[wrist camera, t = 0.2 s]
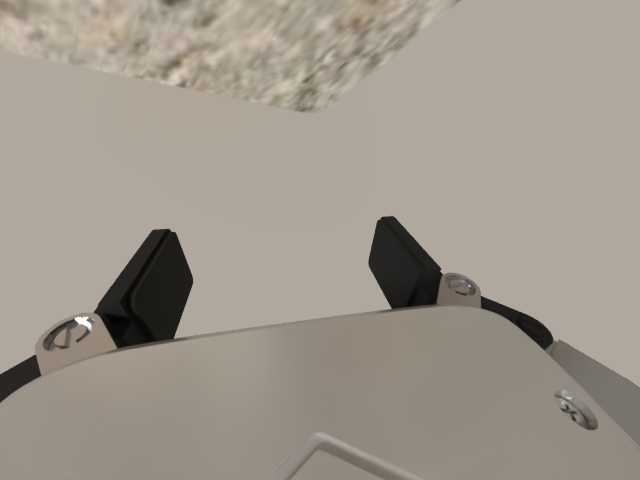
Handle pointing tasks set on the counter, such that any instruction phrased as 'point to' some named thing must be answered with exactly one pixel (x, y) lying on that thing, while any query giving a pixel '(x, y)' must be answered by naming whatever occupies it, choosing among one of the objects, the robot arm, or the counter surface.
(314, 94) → the counter surface
